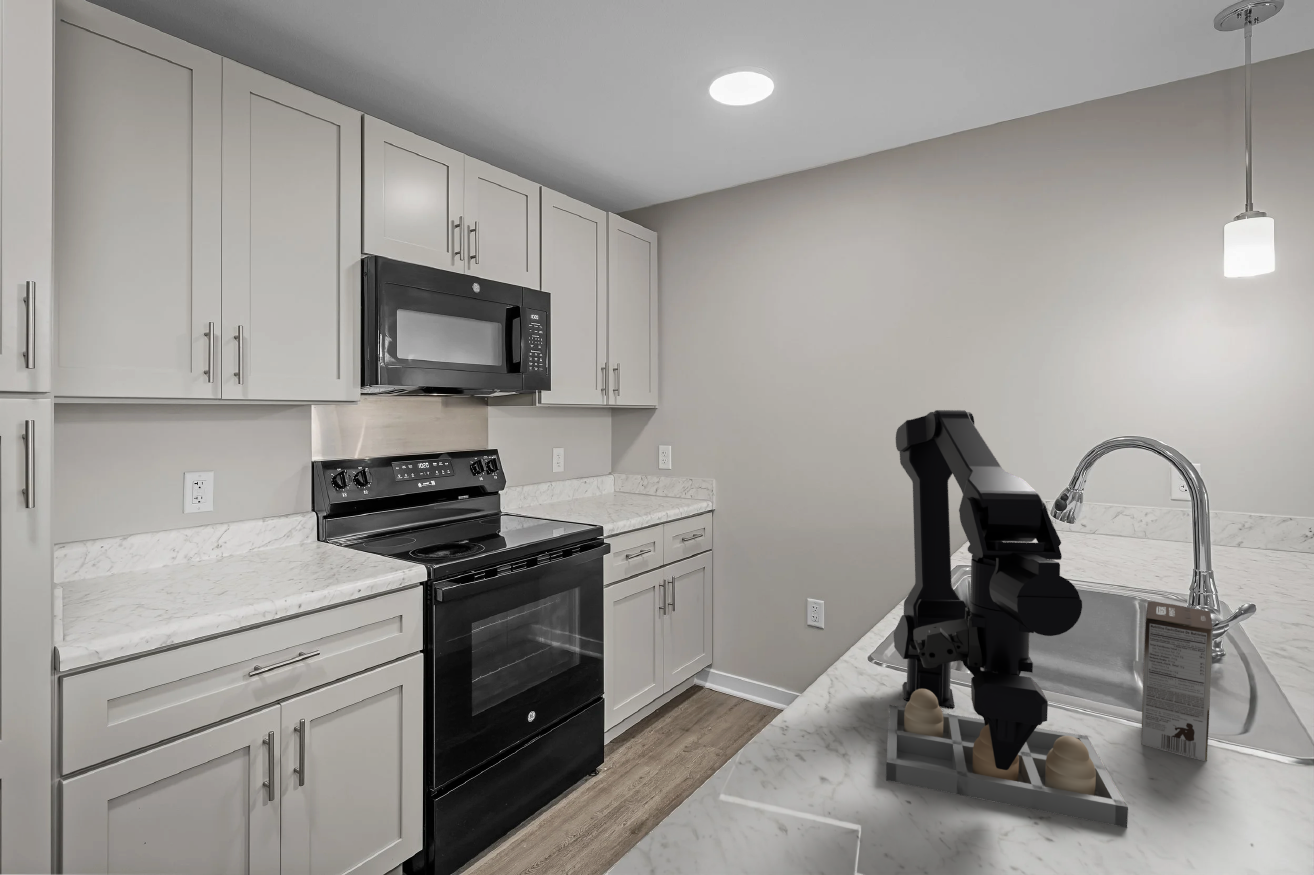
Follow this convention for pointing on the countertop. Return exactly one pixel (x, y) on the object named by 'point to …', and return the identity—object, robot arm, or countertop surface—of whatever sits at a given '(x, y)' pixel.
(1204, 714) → the coffee box
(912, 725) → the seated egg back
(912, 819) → the countertop surface
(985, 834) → the countertop surface
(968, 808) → the countertop surface
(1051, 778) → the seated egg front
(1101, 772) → the egg carton
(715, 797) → the countertop surface
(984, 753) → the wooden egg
